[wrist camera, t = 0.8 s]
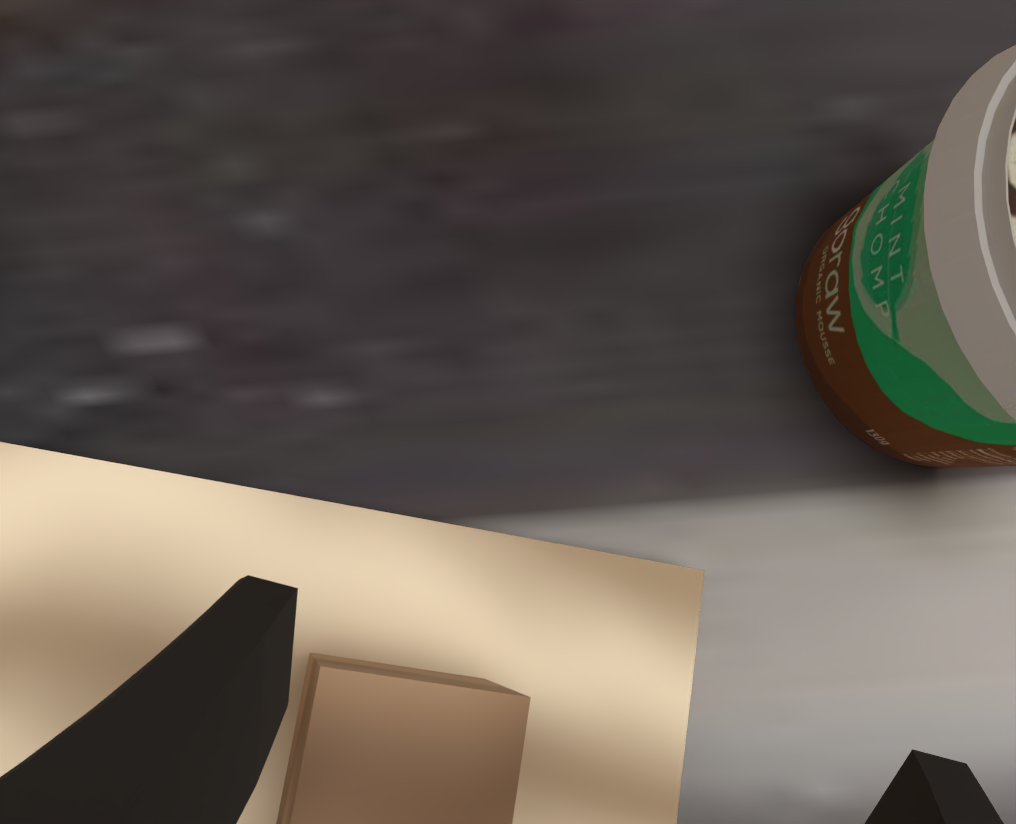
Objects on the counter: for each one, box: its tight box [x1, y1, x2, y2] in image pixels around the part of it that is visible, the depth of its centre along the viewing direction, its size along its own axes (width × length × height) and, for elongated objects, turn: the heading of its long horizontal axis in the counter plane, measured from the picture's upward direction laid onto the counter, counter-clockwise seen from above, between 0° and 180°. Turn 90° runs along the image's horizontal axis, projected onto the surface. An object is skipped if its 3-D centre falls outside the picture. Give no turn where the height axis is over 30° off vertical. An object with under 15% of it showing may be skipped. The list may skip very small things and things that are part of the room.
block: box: [276, 653, 531, 824], centre depth 22 cm, size 4×4×4 cm
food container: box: [795, 45, 1016, 468], centre depth 27 cm, size 12×6×10 cm, turn 0°
